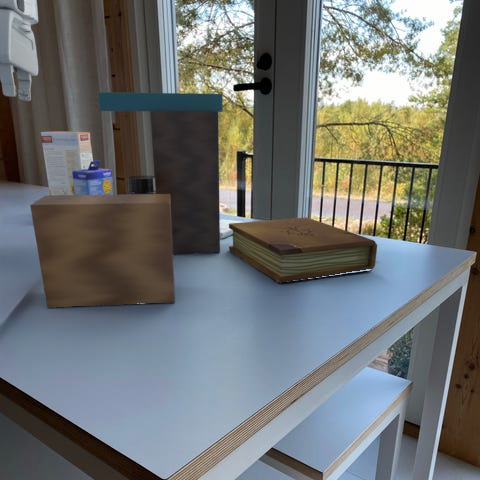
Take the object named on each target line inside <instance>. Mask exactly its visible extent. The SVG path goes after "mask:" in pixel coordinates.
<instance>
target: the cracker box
mask: <svg viewBox="0 0 480 480" xmlns="http://www.w3.org/2000/svg"><path fill="white" fill-rule="evenodd" d="M40 137H41V145H42V151H43V158H44V164H45V171H46V178H47V184H48V192H49V195H75V192H74V183H73V175H72V171H76V170H82V169H88V168H89V165H90V162H91V161H94V160H93V159H94V157H93V151H92V150H93V149H92V141H91V132H89V131H66V130H65V131H64V130H63V131H59V130H57V131H56V130H55V131H41V132H40ZM91 166H94V164H92V165H91Z"/></svg>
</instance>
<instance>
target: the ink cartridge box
mask: <svg viewBox="0 0 480 480" xmlns="http://www.w3.org/2000/svg"><path fill="white" fill-rule="evenodd" d="M92 164H93V166H91V165H92ZM94 164H96V165H94ZM100 164H101V160H93V161H91V162H90V165H89V168H88V169H82V170H76V171H72V175H73V183H74V192H75V195H114V185H113V183H114V182H113V169H110V168H102V167H101V168H99V167H100Z"/></svg>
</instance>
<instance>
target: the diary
mask: <svg viewBox="0 0 480 480" xmlns="http://www.w3.org/2000/svg"><path fill="white" fill-rule="evenodd" d="M241 222H242V223H230V224H229V228H230V229H232V230H233V235H232V245H230V246H228V251H229V250H230V251H231V252H230V251H229V252H230V253H232V252H233V253H234V254H233V253H232V254H233V255H235V254H236V255H237V256H236V255H235V256H236V257H238V256H239V257H240V258H239V257H238V258H239V259H241V258H242V259H241V260H243V261H244V260H245V261H244V262H245V263H247V262H248V263H247V264H248V265H250V264H251V265H250V266H252V265H253V266H254V268H255V267H256V268H255V269H257V270H258V269H259V270H258V271H260V270H261V271H262V272H261V271H260V272H261V273H263V272H264V273H265V274H264V273H263V274H264V275H266V274H267V275H269V276H270V277H269V276H268V277H269V278H271V277H272V278H273V279H272V278H271V279H272V280H274V279H275V280H277V281H278V282H287V281H293V280H301V279H308V278H316V277H322V276H329V275H335V274H340V273H346V272H352V271H360V270H366V269H372V270H373V269H374V268H375V267H376V262H377V261H376V260H377V253H378V252H377V251H378V244H377V242H376V240H374V239H371V238H369V237H365V236H363V235H360V234H357V233H354V232H351V231H348V230H345V229H342V228H339V227H337V226H333V225H331V224H327V223H325V222H322V221H319V220H316V219H313V218H310V217H307V216H306V217H296V218H295V217H294V218H283V219H281V218H280V219H269V220H255V221H241ZM253 266H252V267H253ZM267 275H266V276H267ZM275 280H274V281H275ZM277 281H276V282H277ZM278 282H277V283H278Z"/></svg>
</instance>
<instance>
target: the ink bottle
mask: <svg viewBox="0 0 480 480" xmlns="http://www.w3.org/2000/svg"><path fill="white" fill-rule="evenodd" d="M127 188H128V194H156V190H155V175H131V176H127Z"/></svg>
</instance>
